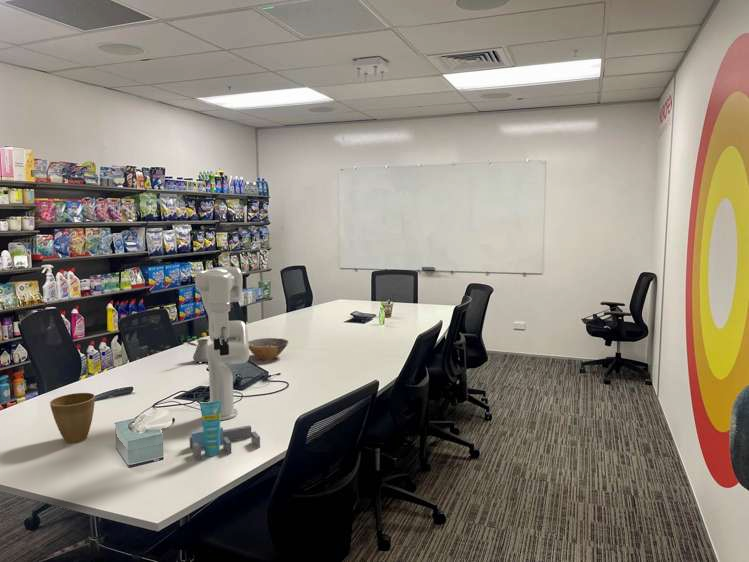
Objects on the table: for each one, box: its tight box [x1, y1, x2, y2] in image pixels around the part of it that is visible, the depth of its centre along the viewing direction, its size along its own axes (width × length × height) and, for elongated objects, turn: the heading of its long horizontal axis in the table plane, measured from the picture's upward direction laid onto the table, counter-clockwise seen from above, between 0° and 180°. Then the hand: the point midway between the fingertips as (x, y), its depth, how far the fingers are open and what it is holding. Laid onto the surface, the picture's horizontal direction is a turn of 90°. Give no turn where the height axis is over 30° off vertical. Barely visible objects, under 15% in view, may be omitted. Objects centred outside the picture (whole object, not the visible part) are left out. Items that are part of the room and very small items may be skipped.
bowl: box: [248, 337, 289, 361], centre depth 327 cm, size 25×25×10 cm
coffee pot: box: [184, 338, 209, 363], centre depth 314 cm, size 21×12×15 cm, turn 164°
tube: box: [199, 400, 222, 457], centre depth 193 cm, size 7×5×19 cm, turn 114°
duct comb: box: [188, 424, 261, 461], centre depth 199 cm, size 13×22×6 cm, turn 119°
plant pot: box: [49, 392, 96, 444], centre depth 206 cm, size 15×15×16 cm
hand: (221, 352), depth 205 cm, fingers open, 9 cm apart
